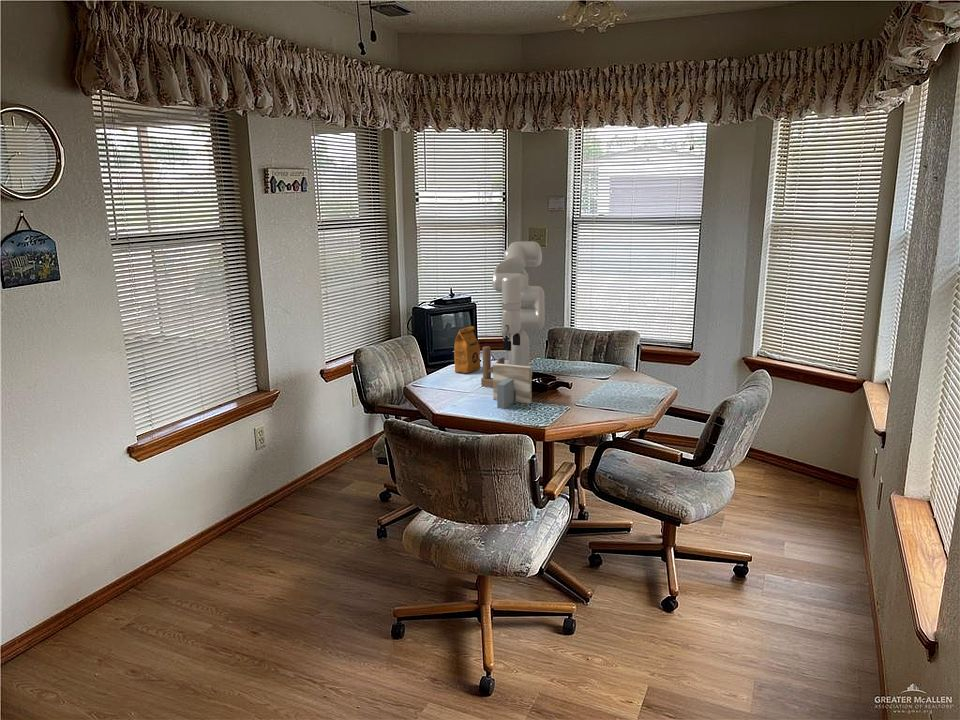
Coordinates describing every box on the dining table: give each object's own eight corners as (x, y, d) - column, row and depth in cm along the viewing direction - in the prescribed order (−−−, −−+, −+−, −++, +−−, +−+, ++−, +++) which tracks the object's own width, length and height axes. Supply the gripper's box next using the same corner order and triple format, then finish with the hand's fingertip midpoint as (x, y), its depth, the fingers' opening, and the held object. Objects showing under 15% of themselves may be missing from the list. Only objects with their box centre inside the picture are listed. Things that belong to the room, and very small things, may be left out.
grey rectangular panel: (519, 392, 293) (519, 370, 291) (526, 393, 292) (526, 371, 289) (497, 408, 272) (497, 384, 270) (504, 409, 271) (503, 385, 268)
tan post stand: (500, 389, 298) (499, 350, 294) (481, 386, 304) (480, 347, 300) (505, 387, 301) (504, 348, 297) (486, 384, 307) (485, 345, 303)
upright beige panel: (496, 397, 287) (495, 363, 283) (531, 401, 280) (531, 366, 276) (493, 399, 284) (492, 364, 280) (528, 403, 277) (528, 368, 274)
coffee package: (483, 370, 332) (482, 326, 327) (467, 375, 323) (466, 330, 318) (468, 367, 338) (467, 324, 333) (451, 372, 329) (450, 328, 324)
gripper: (511, 302, 282) (511, 342, 286) (494, 309, 267) (495, 351, 271) (528, 303, 279) (528, 343, 283) (511, 311, 264) (512, 353, 268)
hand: (511, 347), depth 277 cm, fingers open, 9 cm apart
